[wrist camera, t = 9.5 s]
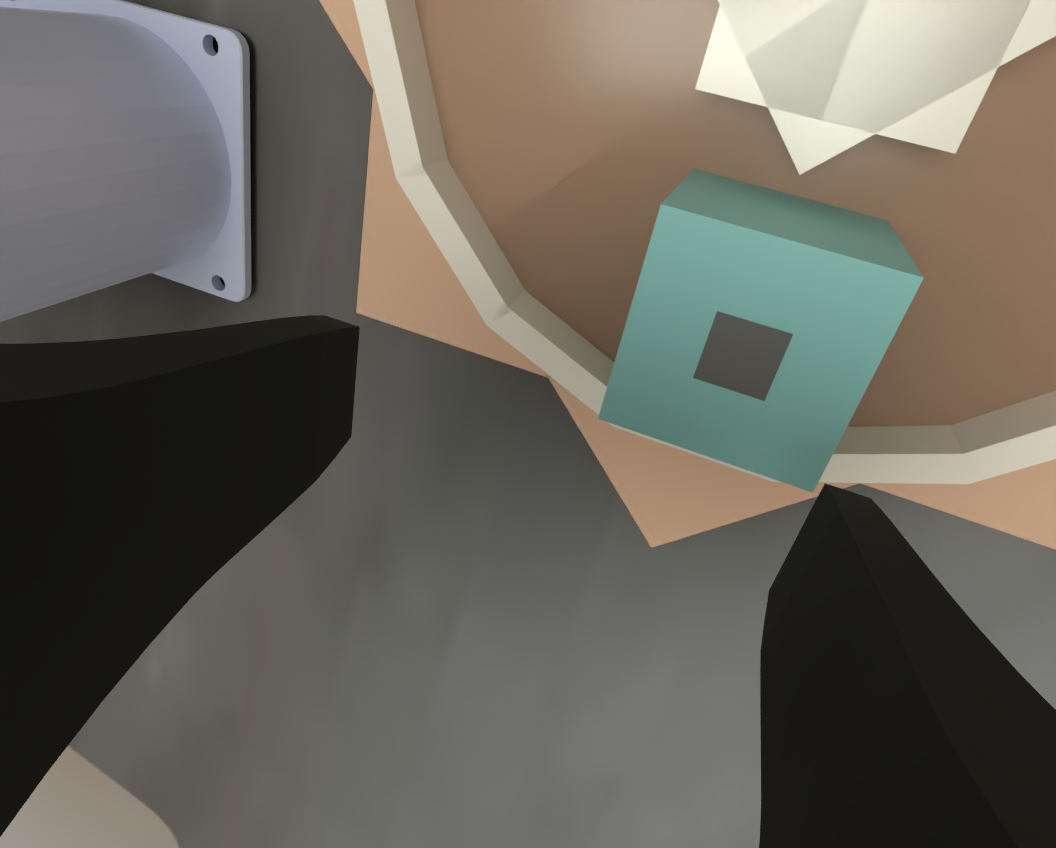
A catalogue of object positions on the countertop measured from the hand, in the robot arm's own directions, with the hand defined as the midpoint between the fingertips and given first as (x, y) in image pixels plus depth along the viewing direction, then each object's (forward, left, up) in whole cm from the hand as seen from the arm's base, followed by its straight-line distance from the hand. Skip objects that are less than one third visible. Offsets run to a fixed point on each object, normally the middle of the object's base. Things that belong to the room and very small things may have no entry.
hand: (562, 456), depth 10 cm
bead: (+2, +1, -9) cm, 9 cm away
